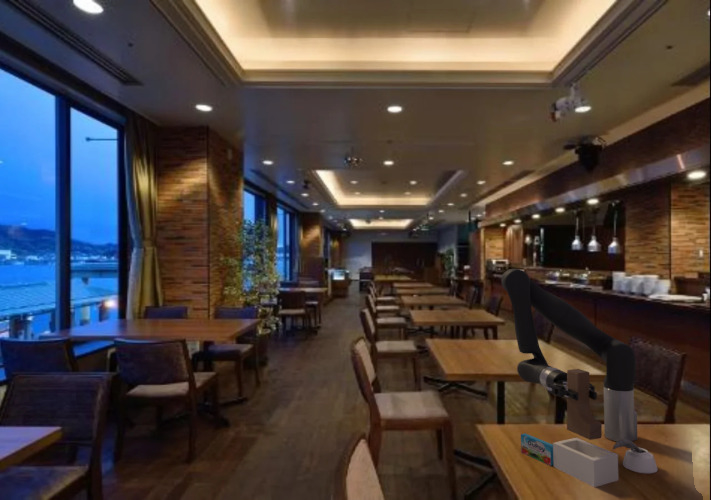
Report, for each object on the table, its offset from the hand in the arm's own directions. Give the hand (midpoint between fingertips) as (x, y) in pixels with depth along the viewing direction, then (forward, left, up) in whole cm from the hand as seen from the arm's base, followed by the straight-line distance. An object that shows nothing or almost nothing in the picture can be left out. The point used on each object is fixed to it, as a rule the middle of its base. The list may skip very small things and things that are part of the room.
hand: (586, 396), depth 145 cm
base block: (0, -2, -23) cm, 23 cm away
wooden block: (0, -2, -12) cm, 12 cm away
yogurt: (+9, -14, -23) cm, 28 cm away
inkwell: (-15, -1, -23) cm, 27 cm away
